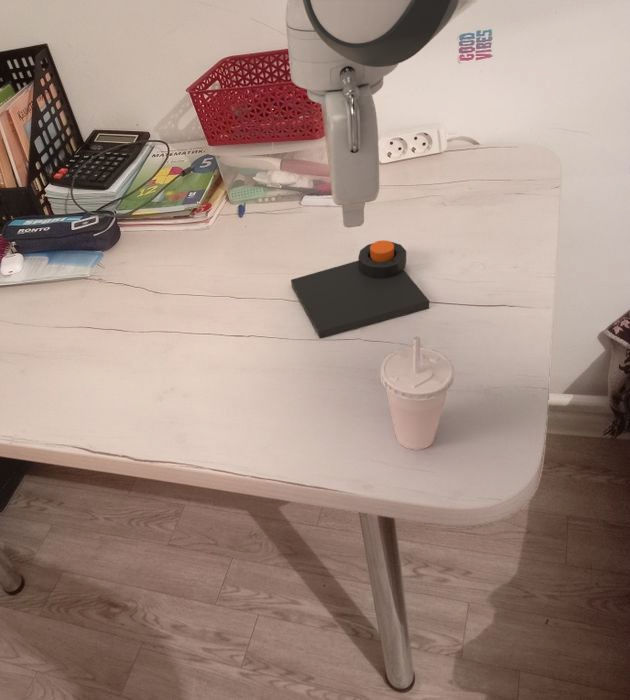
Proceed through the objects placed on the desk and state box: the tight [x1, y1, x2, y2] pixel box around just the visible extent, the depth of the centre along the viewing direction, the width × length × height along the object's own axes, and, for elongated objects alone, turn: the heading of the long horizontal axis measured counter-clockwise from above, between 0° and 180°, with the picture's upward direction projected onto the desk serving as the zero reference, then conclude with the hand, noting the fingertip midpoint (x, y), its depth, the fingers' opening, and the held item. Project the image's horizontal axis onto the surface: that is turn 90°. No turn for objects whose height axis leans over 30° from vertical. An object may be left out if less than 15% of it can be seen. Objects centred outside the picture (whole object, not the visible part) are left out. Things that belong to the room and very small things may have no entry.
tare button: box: [370, 239, 394, 262], centre depth 82 cm, size 3×3×2 cm
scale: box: [290, 241, 430, 339], centre depth 81 cm, size 15×12×3 cm
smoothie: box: [380, 335, 455, 451], centre depth 59 cm, size 6×6×14 cm
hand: (349, 196), depth 60 cm, fingers open, 8 cm apart
